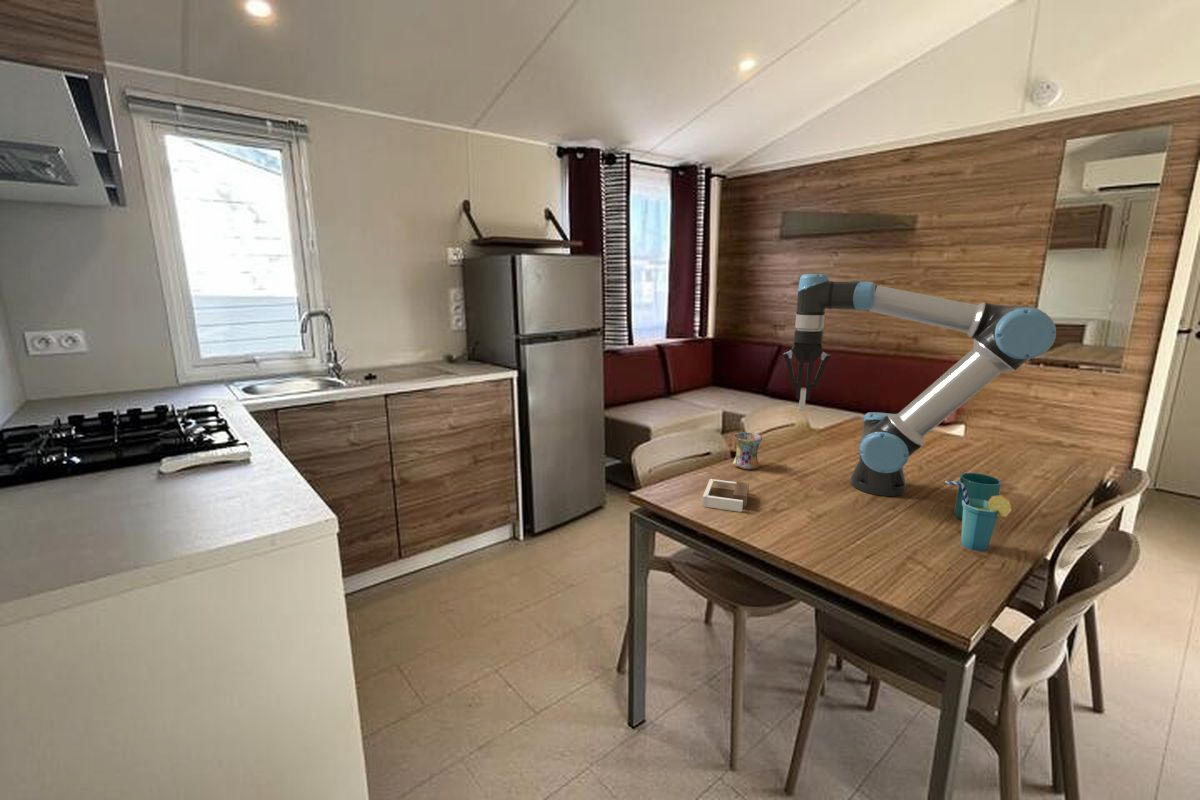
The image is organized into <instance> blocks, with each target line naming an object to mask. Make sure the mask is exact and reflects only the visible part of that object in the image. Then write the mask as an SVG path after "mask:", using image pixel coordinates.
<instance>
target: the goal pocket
mask: <svg viewBox="0 0 1200 800" xmlns="http://www.w3.org/2000/svg"><path fill="white" fill-rule="evenodd" d="M737 482H738V481H730V480H723V479H722V480H721V479H714V478H710V479H709V480H708V483H707V485H706V487H705V489H704V492H703V495H702V500H701V501H702V503H701V507H703V508H711V509H717V510H725V511H732V512H740V513H743V509H742V508H743V500H738V499H731V498H723V497H716V496H711V486H712V483H719V484H727V485H735V486H736V483H737Z"/></svg>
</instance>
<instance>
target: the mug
mask: <svg viewBox="0 0 1200 800" xmlns="http://www.w3.org/2000/svg"><path fill="white" fill-rule="evenodd" d="M733 439H734V442H735V445H736V453H735V458H734V460H733V462H732V464H733V466H735V467H737V468H740V469H743V470H754V469H758V468H759V466H760V463H759V460H758V450H759V446H760V444H761V442H762V440H763V436H762V435H761V434H757V433H754V432H753V433H752V432H736V433H734V434H733Z"/></svg>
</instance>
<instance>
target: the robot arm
mask: <svg viewBox="0 0 1200 800" xmlns="http://www.w3.org/2000/svg"><path fill="white" fill-rule="evenodd" d="M796 301H797V302H796V311H795V312H796V314H795V326H794V328H796V329H795V331H794V334H793V335H794V336H793V345H792V347H791V349H790V350H789V351H787V352H785V351H784V353H783V358H784V359H785V361H786V367H787V372H788V377H789V383H790V384H789V385H790V386H791V387H794V388H795V390H796V391H795V400H799V401H798V402H799V404H798V412H801V413H802V412H803V413H805V410H806V408H805V407H806V401H809V400H811V399H810V398H811V390H812V389H817V388H818V386H819V384H820V381H821V378H822V376H823V373H824V370H825V367H826V365H827V364H828V362H829V361H830V360H831V356H830V354H828V353H826V352H824V349H823V346H822V345H823V338H824V337H823V336H824V332H823V330H824V326H825V325H824V324H825V317H826V316H825V314H826V310H846V311H847V310H851V311H867V312H871V313H876V314H880V315H886V316H889V317H893V318H894V317H895V318H899V319H903V320H907V321H912V322H917V323H921V324H925V325H930V326H935V327H938V328H944V329H948V330H953V331H958V332H962V333H965V334H967V336H968V337H969V338H971V339H973V348H972V349H971V350H969V351H968V352H967V353H966V354H964V356H963V357H961V359H960V360H958V361H957V362H956V363H955V364H954V365H952V366H951V367H950V368H948V370H947V371H946V372H944V373H943V374H942V375H941V376H940V377H939V378H937V379H936V380H935V381H934V382H933V383H932V384H930V385H929V386H928V387H927V388H926V389H924V390H923V391H922V392H921V393H920V394H919V395H918V396H916V398H914V399H913V400H912V401H911V402H909V404H908V405H906V406H905V407H903V408H902V409H901V411H899V412H898V413H886V412H878V411H876V412H874V411H873V412H872V411H871V412H867V413H865V415H864V418H863V421H862V422H863V426H862V433H861V434H862V435H861V441H860V443H859V446H858V447H859V448H858V451H859V460H858V461H857V463H856V464H855V465H856V466H855V467H854V469H853V471H852V472H851V474H850V475H851V476H850V482H849V483H850V485H851V486H852V487H853V488H854V489H856V490H859V491H860V492H864V493H865V494H866V493H867V494H870V495H876V496H882V497H883V496H884V497H897V496H902V495H904V494H905V493H906V490H907V482H906V477H905V472H904V469H903V468H904V466H905V465H906V464H907V462H908V461H909V457H911V456H912V455H913V454H914V453H915V452H917V451H918V450H919V449H920V448H921V447H923V446H924V437H925V436H926V435H927V434H929V433H930V432H932V431H933V430H934V429H935V428H936V427H937V426H939V425H940V424H941V423H943V421H945V420H946V419H947V418H948V417H950V416H951V415H952V414H953V413H955V412H956V411H957V410H958V409H959V408H960V407H962V406H963V405H964V404H965V403H967V402H968V401H969V400H970V399H971V398H973V397H974V396H975V395H976V394H978V393H979V392H980V391H981V390H983V388H985V387H986V386H987V385H988V384H990V383H991V382H992V381H993V380H994V379H996V378H997V377H998V376H1000V375H1001V374H1003V373H1005V372H1015V371H1016V370H1018V369H1019V368H1020V367H1021V366H1023V365H1024V364H1025V363H1026V362H1027V361H1029V360H1031V359H1034V358H1037V357H1039V356H1041V355H1043V354H1044V353H1046V352H1047V351H1049V350H1050V348H1051V347H1052V346H1053V345H1054V342H1055V341H1056V338H1057V327H1056V323H1055V322H1054V320H1053V319H1052V318H1051V316H1049V315H1048V314H1047V313H1046V312H1044V311H1042V310H1041V309H1039V308H1037V307H1031V306H1024V305H1009V304H1007V305H1005V304H1004V305H1003V304H993V303H989V302H980V303H979V304H973V303H968V302H964V301H960V300H959V301H958V300H954V299H948V298H943V297H939V296H932V295H929V294H922V293H918V292H917V293H916V292H913V291H909V290H908V291H907V290H903V289H898V288H892V287H887V286H882V285H879V284H878V285H876V283H874V282H873V281H865V280H864V281H863V280H862V281H860V280H851V281H832V280H830V279H829V275H828V274H826V273H804V274H802V275H801V276H800V278H799V283H798V288H797V300H796ZM793 356H794V357H795V359H796V360H797V362H798V367H797V368H798V369H797V380H795V376H794V375H795V374H794V370H793V364H792V363H793V362H792V358H793ZM820 356H821V357H820ZM819 357H820V360H821V361H820V363H819V365H818V366H819V367H818V369H817V372H816V374H815V377H814V380H813V367H814V363H815V361H817V360H818V358H819ZM805 362H806V363H807V372H806V382H805V387H802V382H803V373H804V363H805ZM812 381H813V382H812Z"/></svg>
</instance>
